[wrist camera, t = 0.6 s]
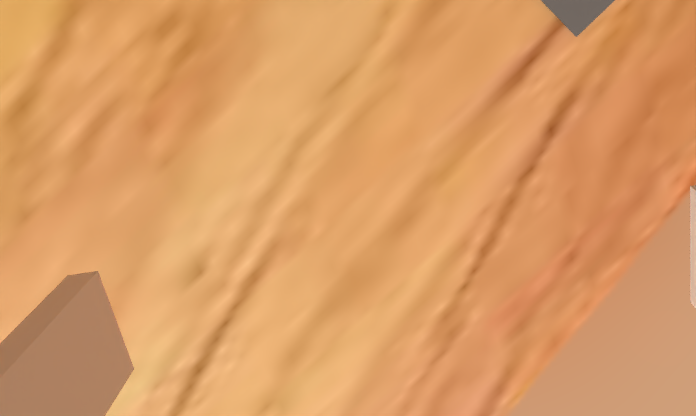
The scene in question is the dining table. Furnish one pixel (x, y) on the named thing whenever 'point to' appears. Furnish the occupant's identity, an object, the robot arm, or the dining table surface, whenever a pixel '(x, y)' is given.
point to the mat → (577, 12)
